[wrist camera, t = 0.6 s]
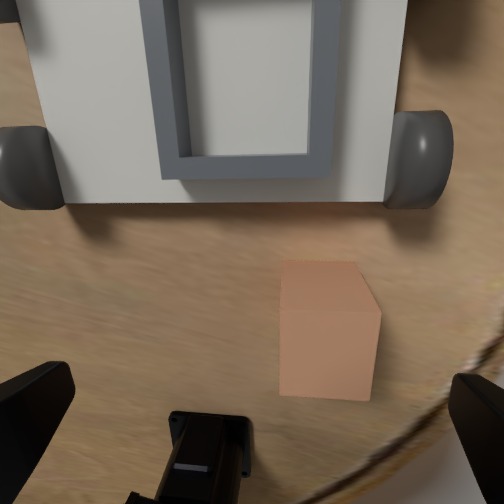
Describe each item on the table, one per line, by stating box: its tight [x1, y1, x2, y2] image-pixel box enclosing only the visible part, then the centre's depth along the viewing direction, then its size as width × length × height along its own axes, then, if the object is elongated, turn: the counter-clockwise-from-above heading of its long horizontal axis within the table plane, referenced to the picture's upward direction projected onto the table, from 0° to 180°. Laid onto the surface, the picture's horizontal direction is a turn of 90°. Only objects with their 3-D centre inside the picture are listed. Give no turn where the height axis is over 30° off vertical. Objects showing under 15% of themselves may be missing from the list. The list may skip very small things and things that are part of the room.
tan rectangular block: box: [279, 260, 382, 401], centre depth 17 cm, size 5×4×6 cm
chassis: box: [0, 0, 454, 210], centre depth 14 cm, size 13×21×4 cm, turn 91°
